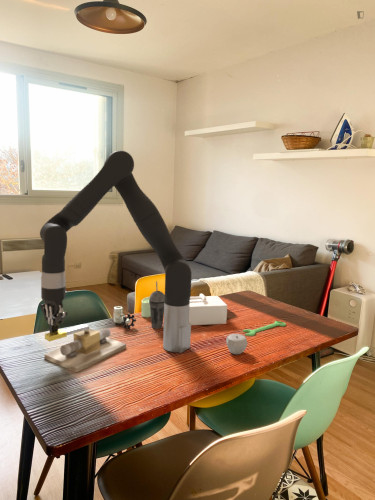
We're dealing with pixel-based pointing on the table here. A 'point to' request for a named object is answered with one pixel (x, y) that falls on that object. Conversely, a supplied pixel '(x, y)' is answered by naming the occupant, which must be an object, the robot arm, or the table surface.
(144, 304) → the candle
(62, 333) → the valve lever
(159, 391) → the table surface
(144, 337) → the table surface
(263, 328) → the wrench
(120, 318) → the valve
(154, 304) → the beverage cup
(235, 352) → the apple
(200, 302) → the tissue box
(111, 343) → the pipe board
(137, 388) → the table surface
